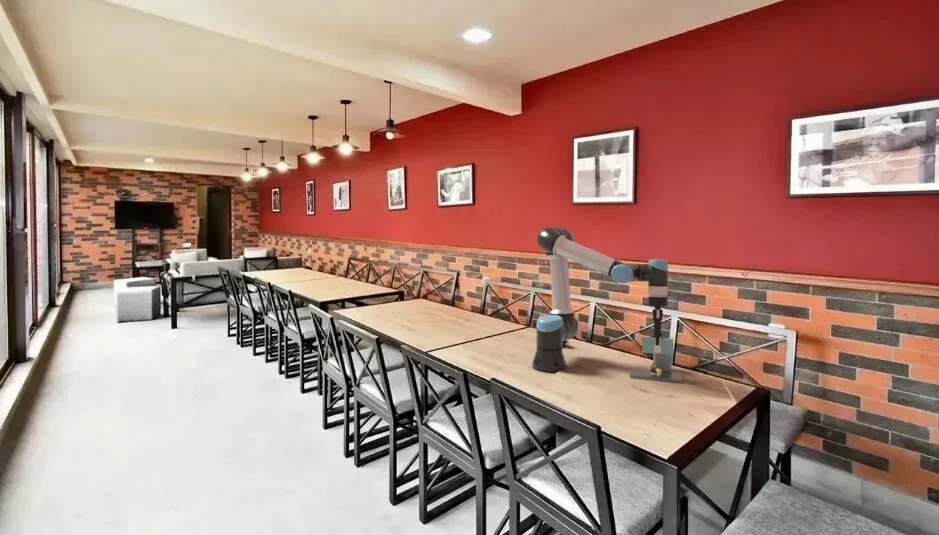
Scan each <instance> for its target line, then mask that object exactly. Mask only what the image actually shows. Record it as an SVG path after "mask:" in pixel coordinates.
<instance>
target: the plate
mask: <svg viewBox="0 0 939 535" xmlns="http://www.w3.org/2000/svg"><path fill="white" fill-rule="evenodd" d="M629 375H630V376H629V378H630V379H638V380H646V381H647V380H649V381H650V380H651V381H657V382H668V383H677V384H684V378H683V375H682V373H681V372H675V371H668V372H666V371H662V369H660V368H657V370H656V369H655V362H654V361H652V362H650V369H646V368H645V369H644V368H634V367H631V368H630V374H629Z"/></svg>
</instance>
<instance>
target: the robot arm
mask: <svg viewBox="0 0 939 535" xmlns="http://www.w3.org/2000/svg"><path fill="white" fill-rule="evenodd" d="M574 241H575V239H574V236H573V234H572V232H571V231H570V230H568V229H566V228H564V227H561V226H560V227H556V226H545V227H543V228H541V229H540V230H539V232H538V233H537V236H536V243H537V246H538V247H539V248H540V249H541V250H542V251H545V253H546V257H547V259H549V270H550V288H551V300H552V301H551V305H552V309H551V310H550V311H549V314H547V315H545V314H544V315H541V316H539V317H538V318H537V320H536V348H535V349H536V351H535V354H534V357H533V359H532V364H531V365H532V369H534V370H537V371H540V372H545V373H546V372H549V373H557V372H560V371H565V370H566V369H567V363H566V360H565V356H564V353H563V348H562V343H563V341H565V340H567V341H569V340H571V339H573V338H574V337H576V335H577V334H578V332H579V328H580V324H579V321H578V319H577V318H576V316H575V311H574V310H573V309H572V307H571V305H572V304H571V293H570V292H571V289H570V271H569V260H572V261H573V262H575V263H577V264H579V265H582V266H585V267H588V268H589V269H591V270H594V271H596V272H598V273H601V274H603V275H605V276H607V277H609V278H611V279H612V280H614V281H615V282H616V283H619V284H626V283H630V282H631V283H632V282H648V284H647V285H648V286H647V295H648V298H647V301H648V302H647V304H648V305H649V306H650V307H654V308H653V309H652V314H653V315H652V320H653V335H652V336H651V337H654V353H661V336H663V332H662V321H663V314H664V310H663V309H662V307H667V306H668V298H669V297H667V296H668V292H669V291H670V288H669V287H668V285H669V284H668V283H669V281H668V280H669V265H668V263H669V262H668V260H666V259H649V260H648V263H625V262H622V261H620V260H617V259H615V258H613V257H610V256H608V255H606V254H603V253H601V252H598V251H596V250H593V249H591V248H589V247H586V246H584V245H581V244H579V243H577V242H574ZM654 353H653V354H654Z"/></svg>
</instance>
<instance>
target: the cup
mask: <svg viewBox="0 0 939 535" xmlns="http://www.w3.org/2000/svg"><path fill="white" fill-rule="evenodd" d="M673 356H674V354H673V355H669V354H655V353H653V356H652V358H653V362H655V370H656V371H657V368H660V369H662V371H666V372H671V369H672V367H673V360H674V359H673Z"/></svg>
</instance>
